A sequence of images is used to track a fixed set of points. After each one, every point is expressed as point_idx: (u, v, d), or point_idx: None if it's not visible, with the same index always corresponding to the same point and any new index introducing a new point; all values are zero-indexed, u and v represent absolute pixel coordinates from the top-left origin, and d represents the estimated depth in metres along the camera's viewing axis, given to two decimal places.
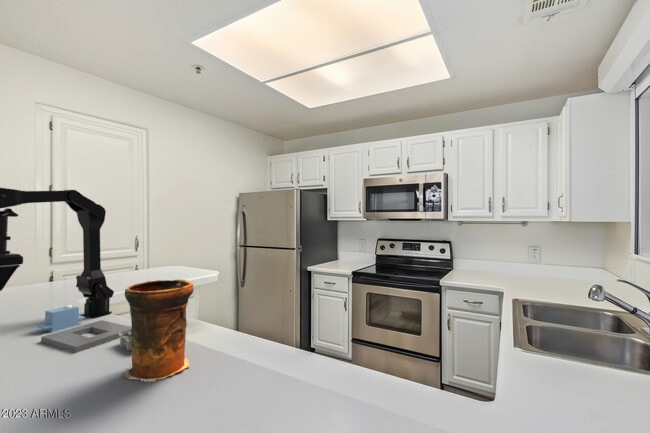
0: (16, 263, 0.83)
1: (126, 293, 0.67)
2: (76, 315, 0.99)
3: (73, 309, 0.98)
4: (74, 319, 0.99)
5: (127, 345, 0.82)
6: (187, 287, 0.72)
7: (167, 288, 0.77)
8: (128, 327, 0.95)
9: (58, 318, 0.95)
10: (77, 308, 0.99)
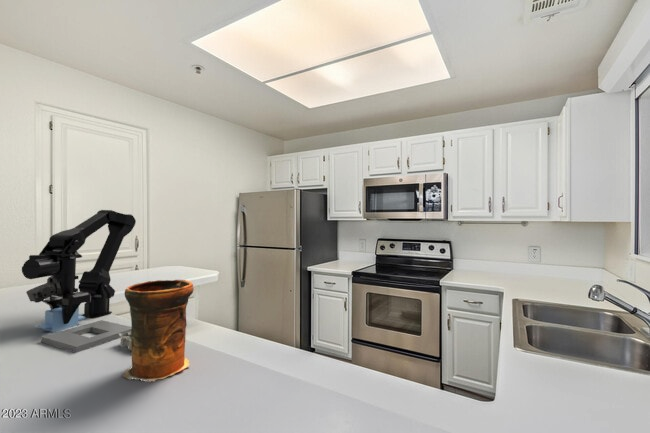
0: (86, 301, 0.95)
1: (126, 293, 0.67)
2: (76, 315, 0.99)
3: None
4: (74, 319, 0.99)
5: (129, 345, 0.83)
6: (187, 287, 0.72)
7: (167, 288, 0.77)
8: (128, 327, 0.95)
9: (58, 318, 0.95)
10: (77, 308, 0.99)
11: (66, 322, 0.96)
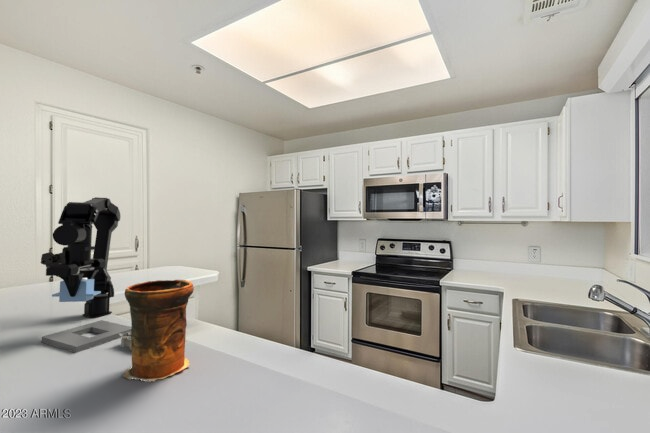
0: (62, 274, 0.84)
1: (126, 293, 0.67)
2: (83, 290, 0.92)
3: None
4: (81, 293, 0.91)
5: None
6: (187, 287, 0.72)
7: (167, 288, 0.77)
8: (128, 327, 0.95)
9: (65, 288, 0.91)
10: (85, 282, 0.92)
11: (72, 295, 0.91)
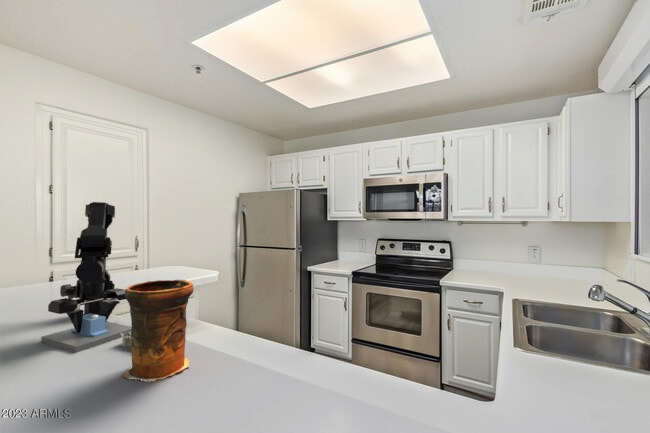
0: (56, 312, 0.81)
1: (126, 293, 0.67)
2: (89, 329, 0.87)
3: (87, 321, 0.88)
4: (87, 333, 0.88)
5: None
6: (187, 287, 0.72)
7: (167, 288, 0.77)
8: (128, 327, 0.95)
9: None
10: (90, 321, 0.87)
11: (77, 331, 0.87)
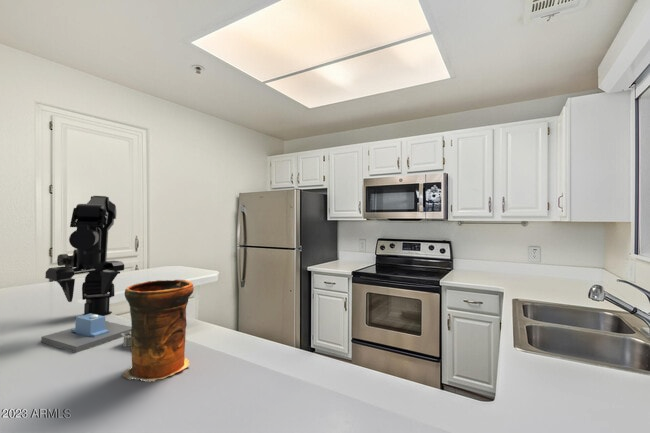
0: (54, 278, 0.83)
1: (126, 293, 0.67)
2: (89, 329, 0.87)
3: (87, 321, 0.88)
4: (87, 333, 0.88)
5: None
6: (187, 287, 0.72)
7: (167, 288, 0.77)
8: (128, 327, 0.95)
9: (78, 325, 0.89)
10: (90, 321, 0.87)
11: (69, 300, 0.88)
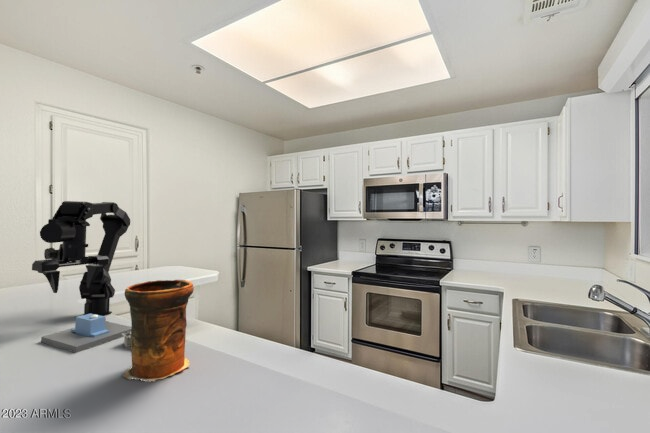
0: (39, 270, 0.88)
1: (126, 293, 0.67)
2: (89, 329, 0.87)
3: (87, 321, 0.88)
4: (87, 333, 0.88)
5: None
6: (187, 287, 0.72)
7: (167, 288, 0.77)
8: (128, 327, 0.95)
9: (78, 325, 0.89)
10: (90, 321, 0.87)
11: (54, 291, 0.93)
